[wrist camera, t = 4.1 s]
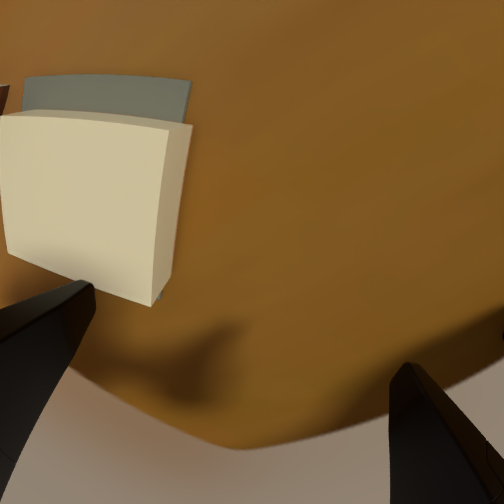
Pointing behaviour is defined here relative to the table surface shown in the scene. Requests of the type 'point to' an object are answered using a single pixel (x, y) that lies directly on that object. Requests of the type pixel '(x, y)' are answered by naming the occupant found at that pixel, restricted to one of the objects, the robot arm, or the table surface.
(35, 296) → the robot arm
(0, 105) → the food container
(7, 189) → the glazed tile
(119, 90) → the rubber mat
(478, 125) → the table surface
